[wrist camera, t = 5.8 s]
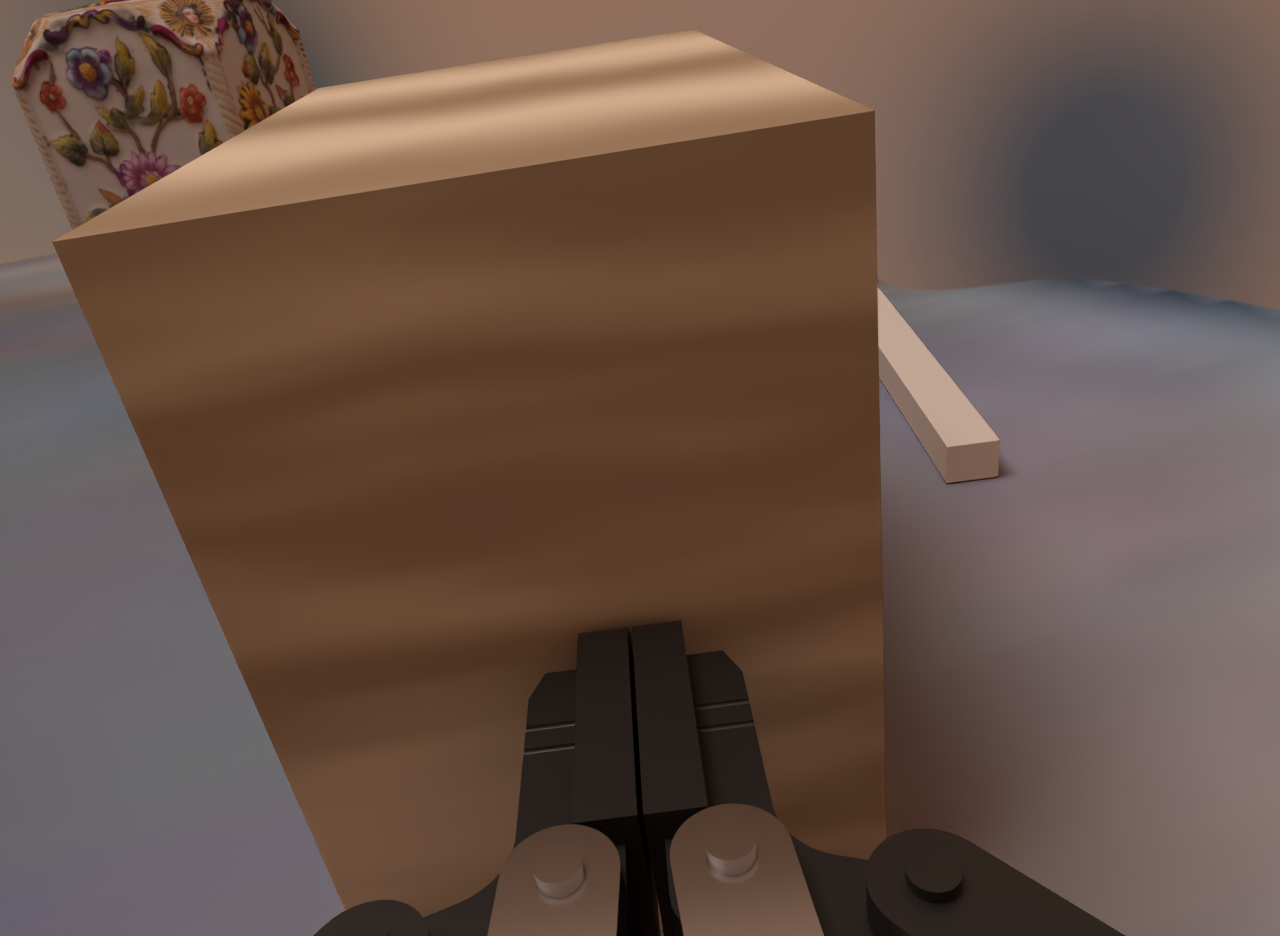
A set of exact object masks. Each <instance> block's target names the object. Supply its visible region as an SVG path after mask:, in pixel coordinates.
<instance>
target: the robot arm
mask: <svg viewBox="0 0 1280 936" xmlns="http://www.w3.org/2000/svg"><path fill="white" fill-rule="evenodd" d="M632 640H633V651H632V645H631V639H630V633H629V629H628V627H622V628H614V629H607V630H599V631H592V632H584V633H578V638H577V669H574V670H567V671H559V672H551V673H545V675H544V676H543V678H542V679H541V681H540V682H539V684H538V685H537V687H536V689H535V690H534V692H533V693H532V695H531V696H530V698H529V700H528V710H527V721H526V732H525V742H524V755H523V763H522V774H521V784H520V795H519V805H518V816H517V826H516V837H515V843H514V848H513V850H512V852H511V853H510V854H509V856H508V857H507V858H506V860H505V862H504V864H503V866H502V868H501V872H500V873H499V874H498V875H497V876H496V878H495V879H494V880H493V881H492V882H491V883H489V884H488V885H487V886H486V887H485V888H483V889H482V890H481V891H479V892H478V893H476V894H474V895H473V896H471V897H470V898H468V899H466V900H463V901H461V902H459V903H457V904H455V905H452V906H450V907H448V908H445V909H443V910H440V911H438V912H436V913H433V914H431V915H428V916H426V917H424V918H423V917H422V915H421V914H420V913H419V912H418V911H417V910H416V909H415V908H413V907H412V906H410V905H408V904H406V903H404V902H400V901H396V900H375V901H370V902H366V903H362V904H360V905H357V906H354V907H352V908H350V909H348V910H346V911H344V912H342V913H341V914H339V915H338V916H336V917H335V918H333V919H332V920H330V921H329V922H328V923H327V924H326V925H324V926H323V927H322V928H321V929H320V930H319V931H318V932H317V933H316V934H315V935H314V936H660V923H659V909H660V915H661V921H662V927H663V933H664V936H1125V935H1123V934H1121V933H1120V932H1118V931H1117V930H1115V929H1113V928H1112V927H1110V926H1108V925H1107V924H1105V923H1103V922H1102V921H1100V920H1098V919H1097V918H1095V917H1093V916H1092V915H1090V914H1088V913H1087V912H1085V911H1084V910H1082V909H1080V908H1079V907H1077V906H1075V905H1074V904H1072V903H1070V902H1069V901H1067V900H1065V899H1064V898H1062V897H1060V896H1059V895H1057V894H1056V893H1054V892H1052V891H1051V890H1049V889H1047V888H1046V887H1044V886H1042V885H1041V884H1039V883H1037V882H1036V881H1034V880H1032V879H1031V878H1029V877H1027V876H1026V875H1024V874H1023V873H1021V872H1019V871H1018V870H1016V869H1014V868H1013V867H1011V866H1009V865H1008V864H1006V863H1004V862H1003V861H1001V860H999V859H998V858H996V857H994V856H993V855H991V854H990V853H988V852H986V851H985V850H983V849H981V848H980V847H978V846H976V845H975V844H973V843H971V842H970V841H968V840H966V839H964V838H962V837H960V836H957V835H954V834H952V833H949V832H944V831H940V830H933V829H914V830H908V831H903V832H900V833H897V834H895V835H893V836H891V837H889V838H887V839H886V840H884V841H883V842H882V843H880V844H879V845H878V846H877V847H876V849H875V850H874V851H873V852H872V854H871V856H870V858H869V860H867V859H860V858H854V857H847V856H840V855H835V854H830V853H825V852H822V851H819V850H817V849H814V848H812V847H810V846H808V845H806V844H804V843H802V842H801V841H799V840H798V839H796V838H795V837H793V836H792V835H791V834H790V833H789V832H788V831H787V829H786V828H785V827H784V825H783V824H782V823H781V822H780V821H779V820H778V818H777V816H776V814H775V811H774V808H773V805H772V800H771V796H770V791H769V787H768V782H767V778H766V774H765V769H764V765H763V760H762V756H761V751H760V747H759V742H758V738H757V734H756V729H755V726H754V720H753V716H752V711H751V707H750V703H749V698H748V694H747V689H746V685H745V680H744V676H743V671H742V670H741V669H740V668H739V667H738V666H737V665H736V664H735V663H734V662H733V661H732V660H731V659H730V658H729V656H728V655H727V654H726V653H725V652H724V651H723V650H721V651H713V652H706V653H698V654H690V655H686V650H685V643H684V636H683V629H682V622H681V620H677V621H669V622H661V623H654V624H646V625H639V626H632ZM633 656H634V657H633ZM658 904H659V909H658Z"/></svg>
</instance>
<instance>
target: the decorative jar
mask: <svg viewBox="0 0 1280 936" xmlns="http://www.w3.org/2000/svg"><path fill="white" fill-rule="evenodd" d="M99 2H100V3H92V4H88V5H85V6H81V7H76V8H72V9H68V10H63V11H58V12H53V13H50V14H46V15H44V16H42V17H41V18H40V19H38V20H36V21H35V22H34V23H33V24H32V27H31V29H30V32H29V34H28V36H27V38H26V40H25V43H24V46H23V49H22V52H21V55H20V56H19V58H18V60H17V63H16V69H15V72H14V75H13V78H12V85H13V88H14V91H15V94H16V96H17V98H18V100H19V103H20V105H21V108H22V110H23V113H24V115H25V117H26V120H27V122H28V124H29V127H30V130H31V132H32V134H33V136H34V139H35V141H36V143H37V146H38V149H39V151H40V153H41V156H42V159H43V161H44V164H45V166H46V168H47V171H48V173H49V175H50V178H51V180H52V182H53V185H54V188H55V190H56V192H57V195H58V197H59V200H60V202H61V204H62V207H63V209H64V211H65V213H66V216H67V218H68V220H69V223H70V225H71V227H72V230H73V229H75V228H77V227H79V226H80V225H82V224H84V223H86V222H87V221H89V220H91V219H92V218H94V217H96V216H98V215H99V214H101V213H103V212H105V211H106V210H108V209H110V208H112V207H113V206H115V205H117V204H119V203H120V202H122V201H124V200H125V199H127V198H129V197H131V196H132V195H134V194H136V193H138V192H139V191H141V190H143V189H145V188H146V187H148V186H150V185H152V184H153V183H155V182H157V181H158V180H160V179H162V178H164V177H165V176H167V175H169V174H171V173H172V172H174V171H176V170H178V169H179V168H181V167H183V166H185V165H186V164H188V163H190V162H191V161H193V160H195V159H197V158H198V157H200V156H202V155H204V154H205V153H207V152H209V151H211V150H212V149H214V148H216V147H217V146H219V145H221V144H223V143H224V142H226V141H228V140H230V139H231V138H233V137H235V136H237V135H238V134H240V133H242V132H244V131H245V130H247V129H249V128H250V127H252V126H254V125H256V124H257V123H259V122H261V121H263V120H264V119H266V118H268V117H270V116H271V115H273V114H275V113H277V112H278V111H280V110H282V109H283V108H285V107H287V106H289V105H290V104H292V103H294V102H296V101H297V100H299V99H301V98H303V97H304V96H306V95H308V94H310V93H311V92H313V91H315V90H316V88H315V86H314V82H313V79H312V76H311V72H310V69H309V65H308V62H307V58H306V55H305V52H304V48H303V44H302V41H301V39H300V31H299V30H298V29H297V28H296V27H294V26H293V25H292V24H291V23H290V21H289V20H288V19H287V17H286V16H285V15H284V14H283V12H282V11H281V10H280V9H279V8H278V7H276V6H275V5H274V4H273V3H272V2H271V0H99Z"/></svg>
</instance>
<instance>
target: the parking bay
mask: <svg viewBox="0 0 1280 936" xmlns="http://www.w3.org/2000/svg"><path fill="white" fill-rule="evenodd" d="M877 288H878V287H877ZM878 350H879V378H880V379H881V381H882V382H883V384H884V386H885V387H886V389H887V390H888V392H889V393H890V395H891V397H892V398H893V400H894V401H895V403H896V404H897V406H898V408H899V409H900V411H901V412H902V414H903V416H904V417H905V419H906V420H907V422H908V423H909V425H910V427H911V428H912V430H913V431H914V433H915V434H916V436H917V438H918V439H919V441H920V442H921V444H922V446H923V447H924V449H925V450H926V452H927V453H928V455H929V457H930V458H931V460H932V461H933V463H934V464H935V466H936V468H937V469H938V471H939V472H940V474H941V476H942V477H943V479H944V480H945V482H946V483H952V482H959V481H967V480H975V479H982V478H990V477H997V476H998V467H999V448H1000V440H999V438H998V437H997V436H996V435H995V433H994V432H993V431H992V430H991V428H990V427H989V426H988V425H987V423H986V422H985V421H984V420H983V418H982V417H981V416H980V415H979V413H978V412H977V411H976V410H975V408H974V407H973V406H972V405H971V403H970V402H969V401H968V400H967V398H966V397H965V396H964V394H963V393H962V392H961V391H960V389H959V388H958V387H957V386H956V384H955V383H954V382H953V381H952V379H951V378H950V377H949V376H948V374H947V373H946V372H945V371H944V369H943V368H942V367H941V366H940V364H939V363H938V362H937V361H936V359H935V358H934V357H933V356H932V354H931V353H930V352H929V351H928V349H927V348H926V347H925V346H924V344H923V343H922V342H921V341H920V339H919V338H918V337H917V336H916V334H915V333H914V332H913V331H912V329H911V328H910V327H909V326H908V324H907V323H906V322H905V321H904V319H903V318H902V317H901V316H900V314H899V313H898V312H897V311H896V309H895V308H894V307H893V305H892V304H891V303H890V302H889V300H888V299H887V298H886V297H885V295H884V294H883V293H882V292H881V290H880V289H879V288H878Z"/></svg>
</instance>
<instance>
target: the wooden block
mask: <svg viewBox="0 0 1280 936" xmlns="http://www.w3.org/2000/svg"><path fill="white" fill-rule="evenodd" d="M876 227H877V226H876V164H875V111H874V110H872V109H869V108H867V107H865V106H863V105H861V104H858V103H856V102H854V101H851V100H850V99H847V98H845V97H843V96H841V95H838V94H836V93H834V92H832V91H829V90H827V89H825V88H823V87H820V86H818V85H816V84H814V83H811V82H809V81H807V80H805V79H803V78H800V77H798V76H796V75H794V74H791V73H789V72H787V71H784V70H782V69H780V68H778V67H776V66H773V65H771V64H769V63H767V62H764V61H762V60H760V59H758V58H756V57H753V56H751V55H749V54H746V53H744V52H742V51H740V50H738V49H735V48H733V47H731V46H729V45H726V44H724V43H722V42H720V41H718V40H715V39H713V38H711V37H709V36H706V35H704V34H702V33H700V32H697V31H695V30H686V31H680V32H674V33H667V34H661V35H655V36H648V37H642V38H635V39H629V40H623V41H616V42H611V43H604V44H598V45H591V46H584V47H578V48H572V49H565V50H559V51H554V52H547V53H540V54H534V55H527V56H521V57H514V58H508V59H502V60H496V61H489V62H483V63H477V64H471V65H464V66H457V67H451V68H445V69H439V70H432V71H426V72H419V73H413V74H406V75H400V76H394V77H387V78H381V79H375V80H368V81H362V82H355V83H350V84H343V85H336V86H330V87H324V88H318V89H316V90H315V91H313V92H311V93H310V94H308V95H306V96H304V97H303V98H301V99H299V100H297V101H296V102H294V103H292V104H290V105H289V106H287V107H285V108H283V109H282V110H280V111H278V112H277V113H275V114H273V115H271V116H270V117H268V118H266V119H264V120H263V121H261V122H259V123H257V124H256V125H254V126H252V127H250V128H249V129H247V130H245V131H244V132H242V133H240V134H238V135H237V136H235V137H233V138H231V139H230V140H228V141H226V142H224V143H223V144H221V145H219V146H217V147H216V148H214V149H212V150H211V151H209V152H207V153H205V154H204V155H202V156H200V157H198V158H197V159H195V160H193V161H191V162H190V163H188V164H186V165H185V166H183V167H181V168H179V169H178V170H176V171H174V172H172V173H171V174H169V175H167V176H165V177H164V178H162V179H160V180H158V181H157V182H155V183H153V184H152V185H150V186H148V187H146V188H145V189H143V190H141V191H139V192H138V193H136V194H134V195H132V196H131V197H129V198H127V199H125V200H124V201H122V202H120V203H119V204H117V205H115V206H113V207H112V208H110V209H108V210H106V211H105V212H103V213H101V214H99V215H98V216H96V217H94V218H92V219H91V220H89V221H87V222H86V223H84V224H82V225H80V226H79V227H77V228H75V229H73V230H72V231H70V232H68V233H66V234H65V235H63V236H61V237H60V238H58V239H56V240H54V241H53V245H54V247H55V249H56V251H57V254H58V256H59V258H60V261H61V263H62V265H63V267H64V270H65V272H66V274H67V277H68V279H69V281H70V283H71V286H72V288H73V290H74V293H75V295H76V297H77V299H78V302H79V304H80V306H81V308H82V311H83V313H84V315H85V318H86V320H87V322H88V324H89V327H90V329H91V331H92V334H93V336H94V338H95V340H96V343H97V345H98V347H99V350H100V352H101V354H102V356H103V359H104V361H105V363H106V365H107V368H108V370H109V372H110V375H111V377H112V379H113V381H114V384H115V386H116V388H117V391H118V393H119V395H120V397H121V400H122V402H123V404H124V406H125V409H126V411H127V413H128V416H129V418H130V420H131V422H132V425H133V427H134V429H135V432H136V434H137V436H138V438H139V441H140V443H141V445H142V448H143V450H144V452H145V454H146V457H147V459H148V461H149V463H150V466H151V468H152V470H153V473H154V475H155V477H156V479H157V482H158V484H159V486H160V489H161V491H162V493H163V495H164V498H165V500H166V502H167V505H168V507H169V509H170V511H171V514H172V516H173V518H174V520H175V523H176V525H177V527H178V530H179V532H180V534H181V536H182V539H183V541H184V543H185V546H186V548H187V550H188V552H189V555H190V557H191V559H192V562H193V564H194V566H195V568H196V571H197V573H198V575H199V577H200V580H201V582H202V584H203V587H204V589H205V591H206V593H207V596H208V598H209V600H210V603H211V605H212V607H213V609H214V612H215V614H216V616H217V618H218V621H219V623H220V625H221V628H222V630H223V632H224V634H225V637H226V639H227V641H228V644H229V646H230V648H231V650H232V653H233V655H234V657H235V660H236V662H237V664H238V666H239V669H240V671H241V673H242V675H243V678H244V680H245V682H246V685H247V687H248V689H249V691H250V694H251V696H252V698H253V701H254V703H255V705H256V707H257V710H258V712H259V714H260V717H261V719H262V721H263V723H264V726H265V728H266V730H267V732H268V735H269V737H270V739H271V742H272V744H273V746H274V748H275V751H276V753H277V755H278V758H279V760H280V762H281V764H282V767H283V769H284V771H285V774H286V776H287V778H288V780H289V783H290V785H291V787H292V789H293V792H294V794H295V796H296V799H297V801H298V803H299V805H300V808H301V810H302V812H303V815H304V817H305V819H306V821H307V824H308V826H309V828H310V830H311V833H312V835H313V837H314V840H315V842H316V844H317V846H318V849H319V851H320V853H321V856H322V858H323V860H324V862H325V865H326V867H327V869H328V872H329V874H330V876H331V878H332V881H333V883H334V885H335V887H336V890H337V892H338V894H339V897H340V899H341V901H342V903H343V906H344V908H345V910H348V909H350V908H352V907H354V906H357V905H360V904H362V903H366V902H370V901H375V900H396V901H400V902H404V903H406V904H408V905H410V906H412V907H413V908H415V909H416V910H417V911H418V912H419V913H420V914H421V915H422V917H423V918H424V917H426V916H428V915H431V914H433V913H436V912H438V911H440V910H443V909H445V908H448V907H450V906H452V905H455V904H457V903H459V902H461V901H463V900H466V899H468V898H470V897H471V896H473V895H474V894H476V893H478V892H479V891H481V890H482V889H483V888H485V887H486V886H487V885H488V884H489V883H491V882H492V881H493V880H494V879H495V878H496V876H497V875H498V874H499V873H500V872H501V868H502V866H503V864H504V862H505V860H506V858H507V857H508V856H509V854H510V853H511V852H512V850H513V848H514V843H515V837H516V826H517V816H518V805H519V795H520V784H521V774H522V763H523V755H524V742H525V732H526V721H527V710H528V700H529V698H530V696H531V695H532V693H533V692H534V690H535V689H536V687H537V685H538V684H539V682H540V681H541V679H542V678H543V676H544V675H545V673H551V672H559V671H567V670H574V669H577V638H578V633H584V632H592V631H599V630H607V629H614V628H622V627H628V629H629V633H630V639H631V645H632V651H633V640H632V626H639V625H646V624H654V623H661V622H669V621H677V620H681V622H682V629H683V636H684V643H685V650H686V655H690V654H698V653H706V652H713V651H721V650H723V651H724V652H725V653H726V654H727V655H728V656H729V658H730V659H731V660H732V661H733V662H734V663H735V664H736V665H737V666H738V667H739V668H740V669H741V670H742V671H743V676H744V680H745V685H746V689H747V694H748V698H749V703H750V707H751V711H752V716H753V720H754V726H755V729H756V734H757V738H758V742H759V747H760V751H761V756H762V760H763V765H764V769H765V774H766V778H767V782H768V787H769V791H770V796H771V800H772V805H773V808H774V811H775V814H776V816H777V818H778V820H779V821H780V822H781V823H782V824H783V825H784V827H785V828H786V829H787V831H788V832H789V833H790V834H791V835H792V836H793V837H795V838H796V839H798V840H799V841H801V842H802V843H804V844H806V845H808V846H810V847H812V848H814V849H817V850H819V851H822V852H825V853H830V854H835V855H840V856H847V857H854V858H860V859H867V860H869V858H870V856H871V854H872V852H873V851H874V850H875V849H876V847H877V846H878V845H879V844H880V843H882V842H883V841H884V840H886V783H885V721H884V659H883V597H882V535H881V474H880V412H879V350H878V288H877V232H876V231H877V230H876V229H877V228H876ZM633 657H634V656H633ZM658 909H659V904H658ZM659 923H660V931H661V930H663V927H662V921H661V915H660V909H659Z"/></svg>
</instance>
